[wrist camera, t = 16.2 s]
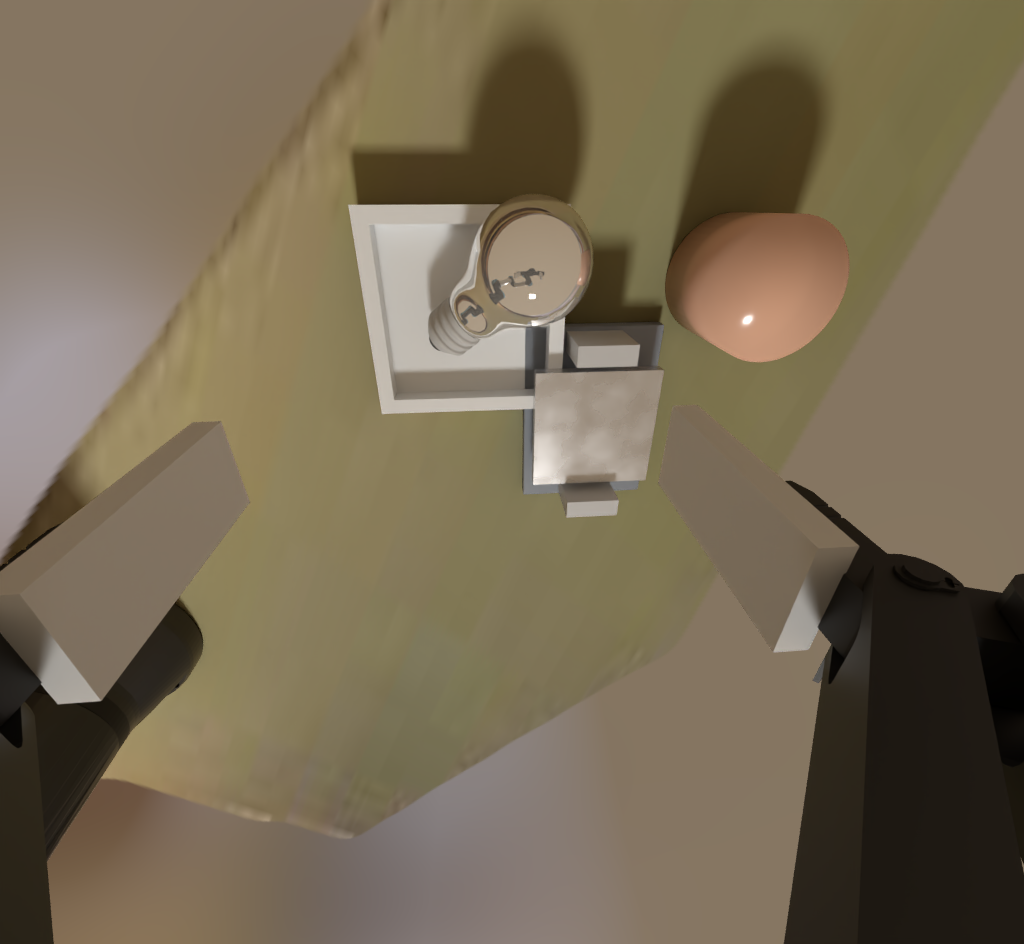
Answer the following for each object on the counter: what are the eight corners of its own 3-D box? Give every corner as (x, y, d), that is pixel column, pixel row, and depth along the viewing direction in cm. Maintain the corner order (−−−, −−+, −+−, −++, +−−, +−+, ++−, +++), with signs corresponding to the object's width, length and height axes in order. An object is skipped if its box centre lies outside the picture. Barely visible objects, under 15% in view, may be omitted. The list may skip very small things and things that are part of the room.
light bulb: (402, 278, 31) (541, 139, 24) (475, 342, 35) (611, 239, 28) (382, 344, 26) (543, 199, 20) (468, 408, 31) (625, 305, 24)
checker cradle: (522, 488, 40) (528, 522, 36) (524, 324, 33) (531, 342, 28) (633, 483, 40) (653, 516, 36) (659, 321, 33) (686, 339, 29)
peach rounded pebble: (656, 335, 34) (696, 363, 28) (676, 212, 30) (727, 214, 24) (759, 333, 34) (821, 360, 28) (792, 211, 30) (872, 213, 24)
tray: (387, 400, 35) (382, 413, 33) (357, 205, 28) (348, 204, 26) (554, 395, 36) (560, 408, 34) (563, 204, 29) (571, 204, 27)
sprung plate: (531, 478, 36) (533, 484, 36) (534, 369, 32) (535, 373, 31) (641, 473, 37) (645, 480, 36) (659, 365, 32) (664, 370, 32)
